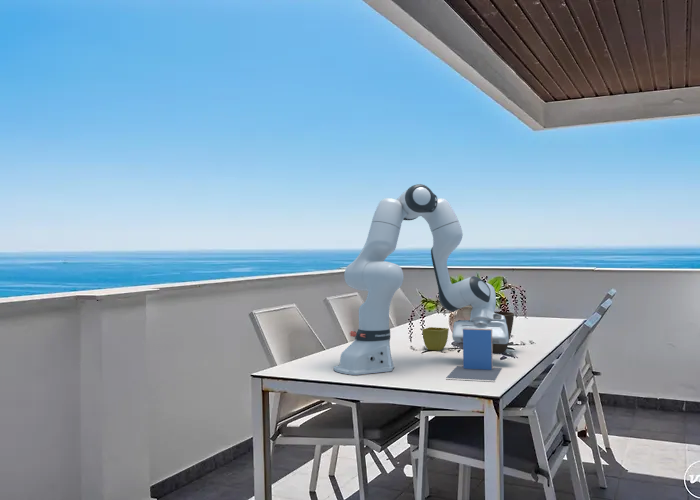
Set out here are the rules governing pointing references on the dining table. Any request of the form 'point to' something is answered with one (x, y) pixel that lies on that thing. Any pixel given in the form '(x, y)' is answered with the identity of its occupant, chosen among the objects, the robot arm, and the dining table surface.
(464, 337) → the upright blue panel
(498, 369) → the charcoal mat
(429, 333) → the flower pot
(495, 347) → the plant pot
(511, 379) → the dining table surface
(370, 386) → the dining table surface
